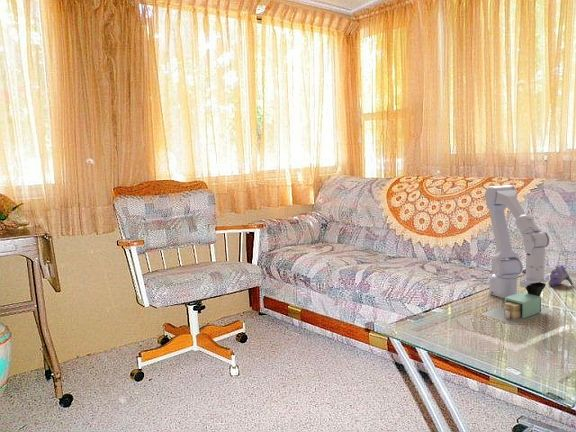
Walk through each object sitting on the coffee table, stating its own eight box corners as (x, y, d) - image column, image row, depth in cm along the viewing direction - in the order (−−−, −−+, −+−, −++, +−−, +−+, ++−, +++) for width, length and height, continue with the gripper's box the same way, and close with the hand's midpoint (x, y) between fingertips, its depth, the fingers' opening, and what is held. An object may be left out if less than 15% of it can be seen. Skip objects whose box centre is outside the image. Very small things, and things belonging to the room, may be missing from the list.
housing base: (480, 317, 164) (480, 307, 163) (517, 304, 175) (517, 294, 174) (515, 328, 153) (515, 317, 152) (552, 314, 164) (552, 303, 163)
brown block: (504, 316, 161) (504, 303, 160) (510, 314, 162) (511, 301, 162) (514, 319, 157) (514, 306, 157) (520, 316, 159) (520, 304, 159)
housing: (504, 312, 163) (504, 297, 163) (521, 306, 168) (521, 291, 168) (523, 318, 157) (524, 302, 156) (541, 311, 162) (541, 296, 162)
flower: (577, 268, 195) (554, 258, 196) (580, 281, 188) (556, 271, 189) (563, 282, 201) (541, 272, 202) (565, 296, 194) (542, 285, 195)
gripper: (534, 271, 157) (532, 310, 159) (558, 264, 164) (556, 301, 166) (514, 267, 163) (513, 304, 165) (538, 260, 170) (537, 296, 172)
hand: (533, 302), depth 166 cm, fingers closed
